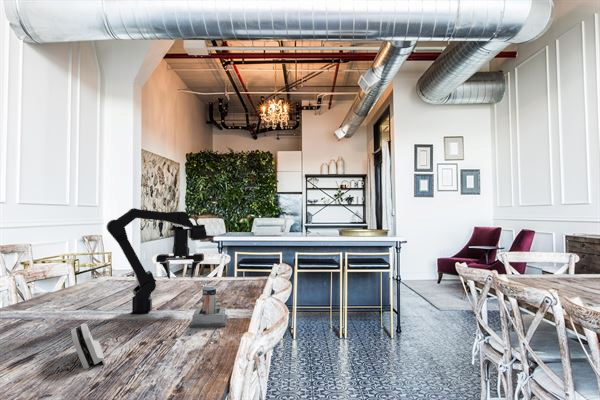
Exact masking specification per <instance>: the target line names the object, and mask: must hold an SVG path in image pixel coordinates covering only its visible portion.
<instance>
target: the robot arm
mask: <svg viewBox="0 0 600 400" xmlns="http://www.w3.org/2000/svg"><path fill="white" fill-rule="evenodd" d="M136 219H141V220H142V219H143V220H154V221H163V222H166V223H170V224H172V225H171V226H170V227H169V228H168V231H171V232H172V231H173V247H172V254H173V255H170V254H169V253H159V254H158V255H156V258H155V262H156V263H159V265H162V267H163V269H164V271H165V273H166V275H167V278H168V279H171V269H170V261H187V260H188V261H190V260H192V263H191V272H190V278H191V279H193V277H194V275H195V271H196V268H197V266H198V264H200V263H201V262H203V261H205V254H204V253H202V252H201V253H200V252H199V253H195V252H194V254H192V255H191V254H190V251H191V250H190V247H189V239H190V241H192V242H193V241H205V240H206V239H207V230H206V227H205V226H206V225H205V224H194V223H193V222H192V221H191V219H190V215H189V214H188V212H186V211H167V212H166V211H157V210H148V209H140V208H139V209H138V208H136V207H135V208H134V207H133V208H130V209H128V211H127V212H125V213H124V214H123V215H121V216H119V217H118V218H117V219H111V220H110V221H108V222H107V223H106V230H107V232H108V233H109V234H110V235H111V237H112V238H113V239H114V240H115V241H116V243H117V244H118V245H119V248H120V249H121V251H122V253H123V254H124V256H125V258H126V261H127V262H128V263H129V265H130V267H131V269H132V270H133V273H134V275H135V279H136V283H137V285H136V286H135V287H134V288H133V289H132V293H133V296H132V300H131V307H132V308H131V310H132V311H131V312H130V315H136V314H137V315H139V314H141V315H143V314H144V315H145V314H148V313H150V312H151V311H152V310H153V299H152V297H151V296H152V292H154V291H155V289H156V287H157V283H156V282H157V280H156V279H155V277H154V275H153V273H152V271H151V270H148V271H147V270H145V268H144V266H143V265H142V263H141V261H140V259H139V257H138V255H137V254H136V253H137V252H135V249H134V248H133V246H132V244H131V242H130V240H129V238H128V234H127V231H126V228H125V227H126V226H128V225H129V224H131V223H132V222H133V221H134V220H136ZM174 224H175V225H174ZM176 225H177V226H176Z"/></svg>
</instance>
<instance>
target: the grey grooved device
mask: <svg viewBox="0 0 600 400" xmlns="http://www.w3.org/2000/svg"><path fill="white" fill-rule="evenodd" d="M70 332H71V334H70V335H71V338H72V342H73V345H74V348H75V351H76V353H77V356H78V358H79V360H80V363H81V365H82V368H83V370H88V369H89V368H90V366H91V364H92V365H97V364H99V363H100V362H102V364H103V366H105V365H107V363H106V359H105V357H104V353H103V350H102V347H101V343H100V341H99V340H95V339H94V338H93V336H92V333H91V332H90V328H89V327H88V324H87V323H82V324H80V326H75V327H74V328H72V329H71V331H70Z"/></svg>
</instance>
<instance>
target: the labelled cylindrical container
mask: <svg viewBox="0 0 600 400" xmlns="http://www.w3.org/2000/svg"><path fill="white" fill-rule="evenodd" d="M201 293H202V304H201V305H202V307H201V308H202V314H214V313H216V307H217V288H216V285H215V284H207V285H206V284H205V285H204V286H203V287H202V292H201Z"/></svg>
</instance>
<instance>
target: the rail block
mask: <svg viewBox="0 0 600 400" xmlns="http://www.w3.org/2000/svg"><path fill="white" fill-rule="evenodd" d="M227 320H228V314H226V306H221V307H220V306H219V307H217V306H216V313H214V314H202V307H196V309H195V310H194V312H193V314H192V321H191V323H190V325H189V329H200V328H201V329H202V328H203V329H204V328H221V327H224V328H225V327H227V323H228V321H227Z"/></svg>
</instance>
